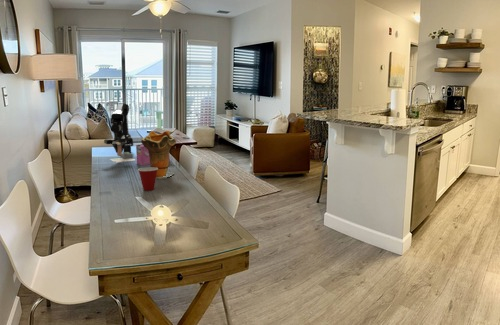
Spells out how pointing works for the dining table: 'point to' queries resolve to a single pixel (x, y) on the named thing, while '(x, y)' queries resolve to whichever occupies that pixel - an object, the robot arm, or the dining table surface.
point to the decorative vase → (159, 151)
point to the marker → (119, 150)
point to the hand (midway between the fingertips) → (119, 152)
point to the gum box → (143, 155)
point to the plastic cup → (148, 177)
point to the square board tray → (124, 158)
